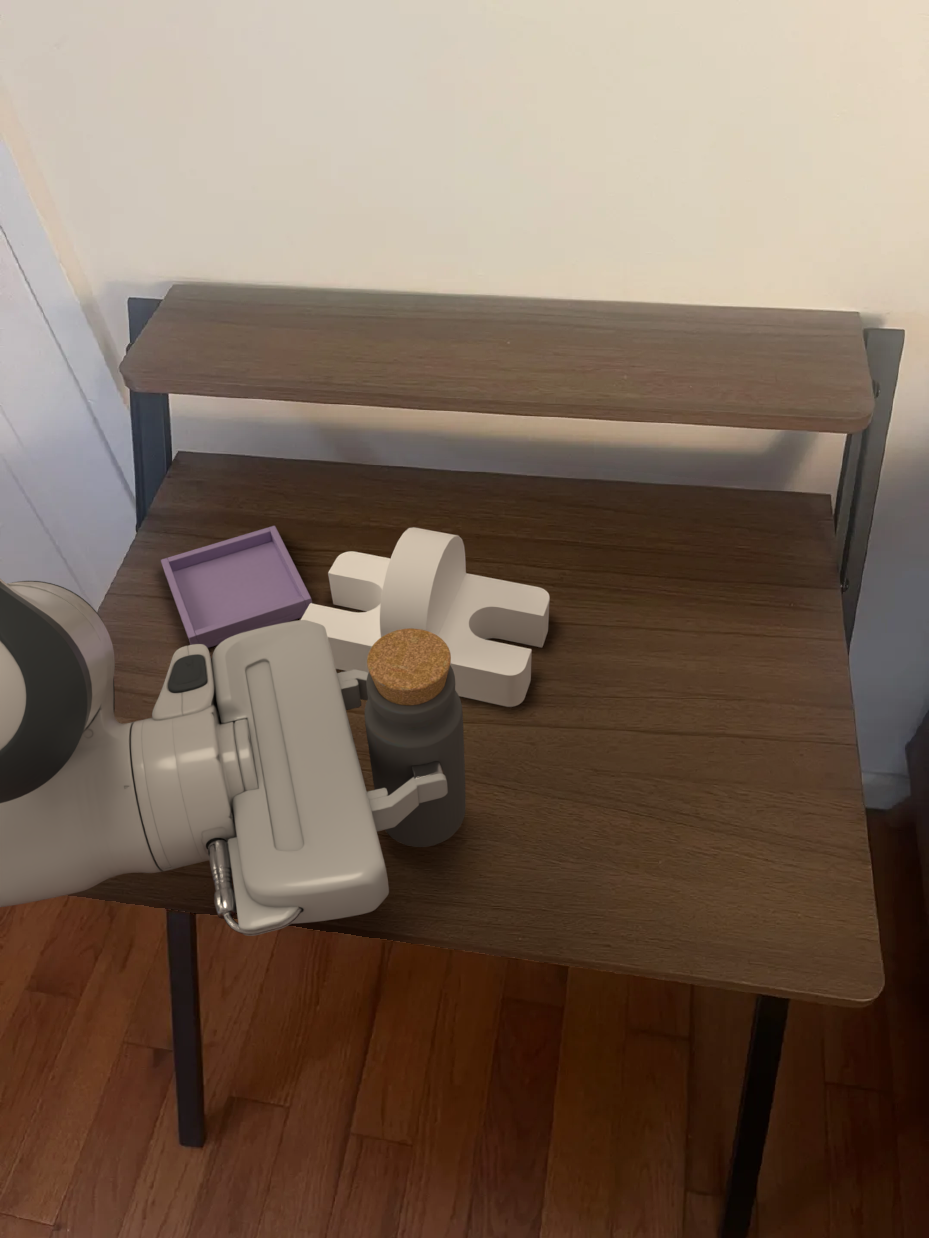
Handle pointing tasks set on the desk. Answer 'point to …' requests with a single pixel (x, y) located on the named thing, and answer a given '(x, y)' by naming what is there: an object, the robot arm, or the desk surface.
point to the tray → (236, 587)
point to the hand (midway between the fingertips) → (429, 730)
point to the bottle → (416, 728)
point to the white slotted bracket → (436, 613)
